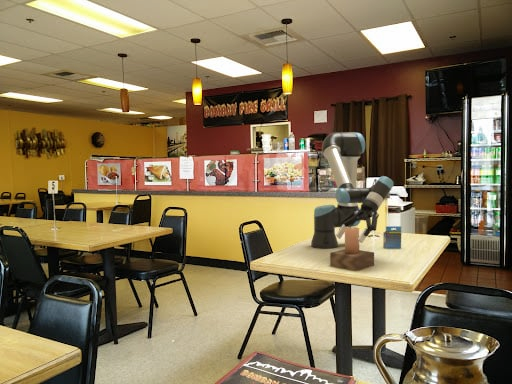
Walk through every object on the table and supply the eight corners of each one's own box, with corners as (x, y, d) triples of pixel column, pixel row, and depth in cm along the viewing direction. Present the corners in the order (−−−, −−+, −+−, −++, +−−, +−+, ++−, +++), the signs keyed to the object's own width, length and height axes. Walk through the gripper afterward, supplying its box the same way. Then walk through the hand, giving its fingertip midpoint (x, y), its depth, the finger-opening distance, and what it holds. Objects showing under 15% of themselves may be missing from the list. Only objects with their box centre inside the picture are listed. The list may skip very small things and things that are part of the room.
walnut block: (330, 265, 189) (330, 252, 188) (348, 260, 198) (348, 248, 198) (356, 270, 179) (356, 257, 178) (374, 265, 188) (374, 252, 188)
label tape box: (398, 247, 232) (398, 225, 232) (401, 248, 228) (401, 226, 228) (383, 247, 232) (383, 225, 232) (385, 248, 228) (385, 226, 228)
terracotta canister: (342, 252, 188) (341, 228, 188) (350, 250, 193) (349, 227, 192) (354, 254, 184) (354, 229, 183) (362, 252, 188) (362, 228, 188)
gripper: (397, 211, 185) (374, 248, 178) (355, 207, 206) (333, 240, 199) (389, 200, 182) (365, 237, 175) (348, 197, 203) (325, 230, 195)
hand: (348, 239), depth 187 cm, fingers open, 13 cm apart
